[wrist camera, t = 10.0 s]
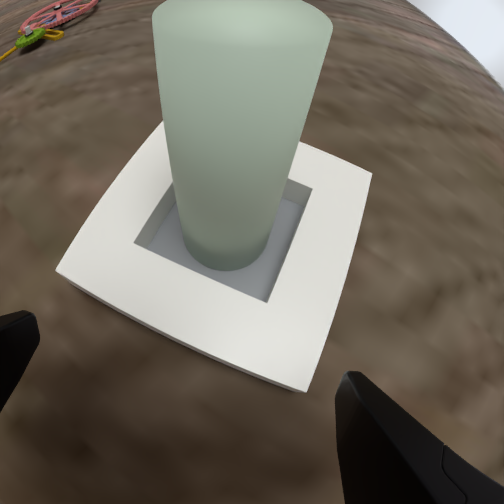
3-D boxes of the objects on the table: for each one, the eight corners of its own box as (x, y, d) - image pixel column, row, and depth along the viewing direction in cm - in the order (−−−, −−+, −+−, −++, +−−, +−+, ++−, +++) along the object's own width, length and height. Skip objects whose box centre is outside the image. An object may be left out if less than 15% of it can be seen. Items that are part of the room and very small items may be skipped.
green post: (221, 288, 17) (232, 69, 5) (166, 226, 18) (122, 12, 6) (285, 235, 19) (365, 31, 7) (230, 182, 20) (248, -19, 8)
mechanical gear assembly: (140, -2, 35) (88, -3, 37) (137, -23, 31) (85, -20, 33) (-26, 108, 23) (-48, 91, 25) (-39, 85, 19) (-57, 73, 21)
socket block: (294, 391, 16) (306, 392, 13) (72, 284, 16) (55, 270, 14) (358, 193, 21) (372, 173, 19) (182, 125, 22) (180, 101, 20)
